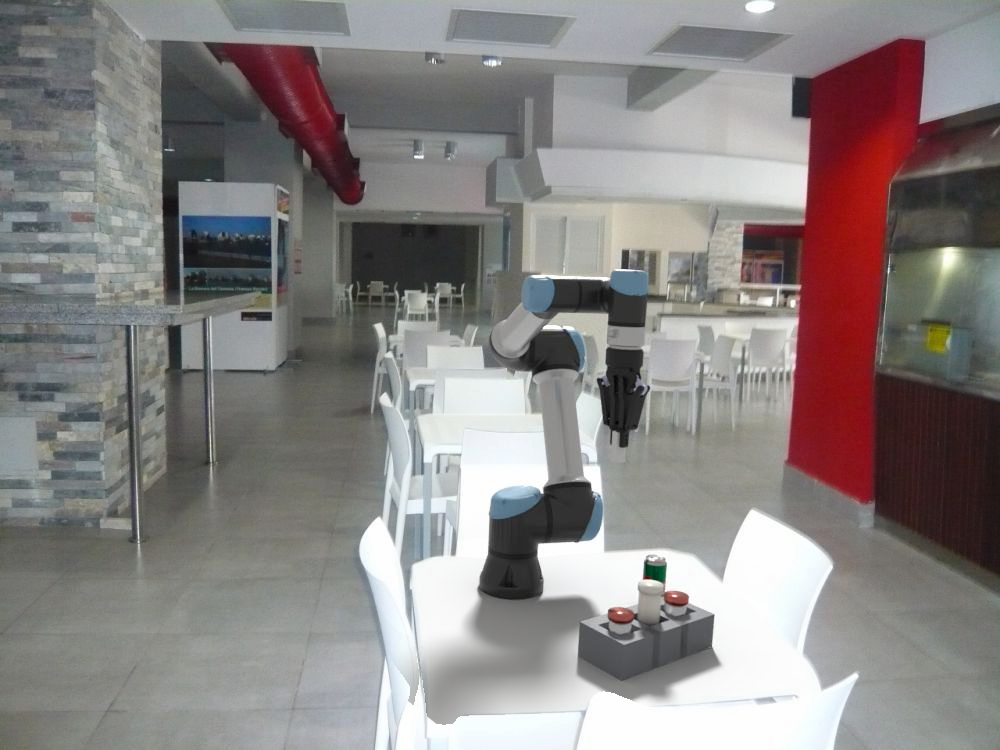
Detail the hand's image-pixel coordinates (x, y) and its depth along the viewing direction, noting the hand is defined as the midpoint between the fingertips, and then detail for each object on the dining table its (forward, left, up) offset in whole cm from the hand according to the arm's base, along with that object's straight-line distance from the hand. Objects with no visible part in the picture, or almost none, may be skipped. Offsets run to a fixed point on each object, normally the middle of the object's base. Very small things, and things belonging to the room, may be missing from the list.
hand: (617, 461), depth 179 cm
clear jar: (+11, +8, -35) cm, 38 cm away
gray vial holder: (+11, 0, -36) cm, 38 cm away
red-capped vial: (+11, -8, -35) cm, 38 cm away
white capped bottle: (+11, 0, -31) cm, 33 cm away
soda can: (-3, +17, -37) cm, 40 cm away
